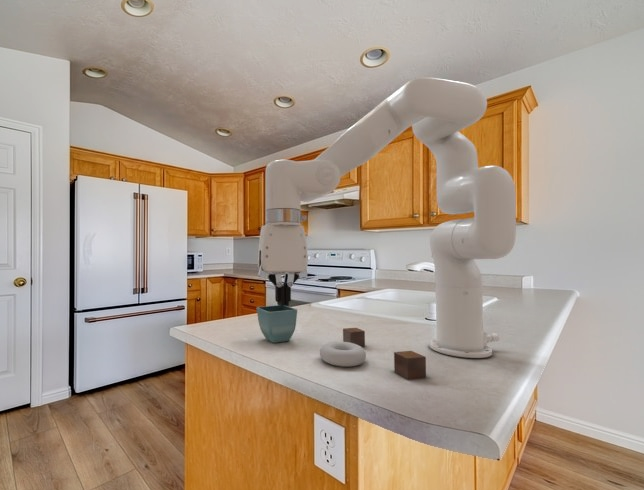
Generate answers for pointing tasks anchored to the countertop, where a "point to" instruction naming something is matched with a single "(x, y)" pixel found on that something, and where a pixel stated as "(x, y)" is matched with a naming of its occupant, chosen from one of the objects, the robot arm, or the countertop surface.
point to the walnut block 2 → (410, 364)
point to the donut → (343, 354)
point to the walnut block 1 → (354, 336)
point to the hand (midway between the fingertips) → (283, 305)
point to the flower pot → (277, 322)
